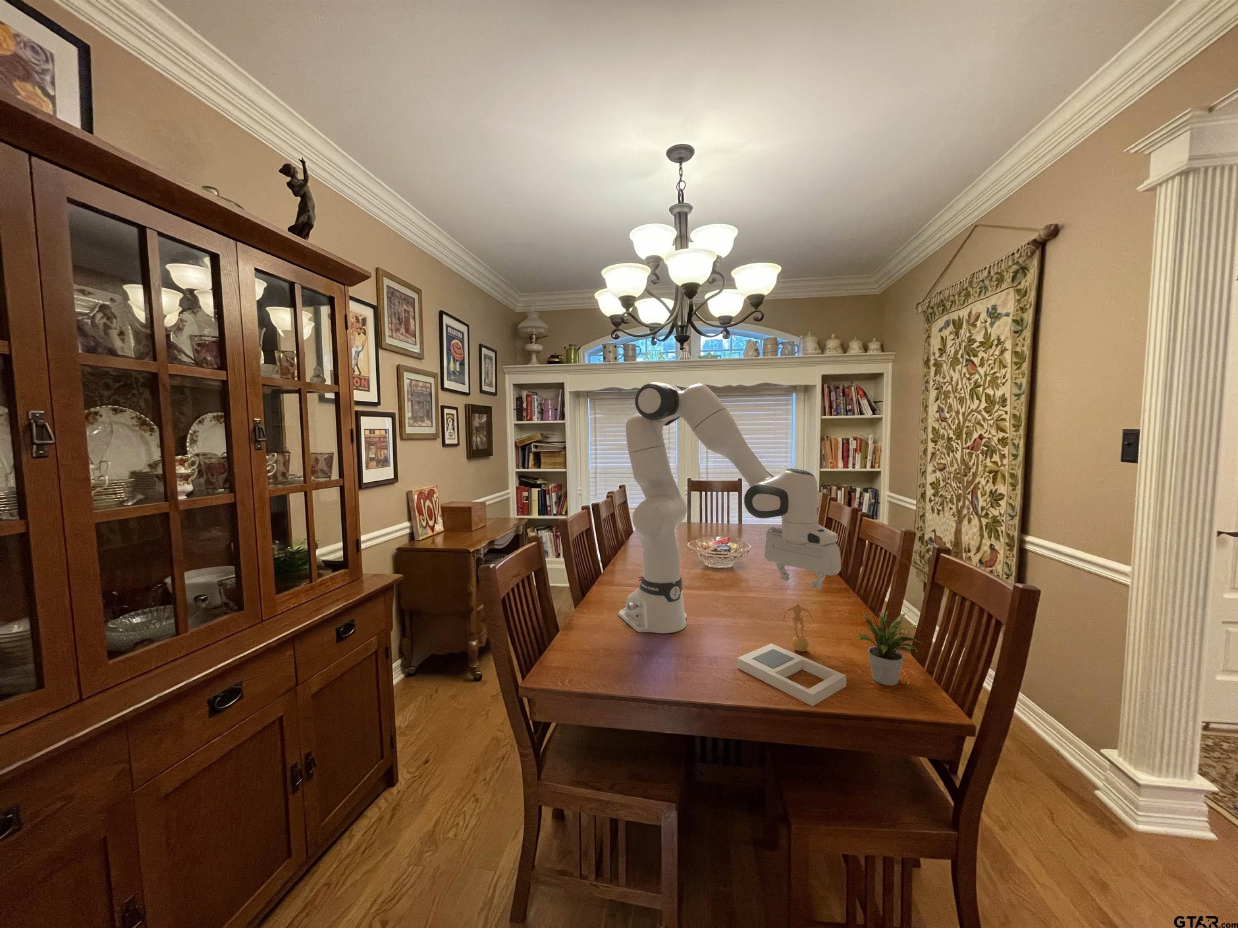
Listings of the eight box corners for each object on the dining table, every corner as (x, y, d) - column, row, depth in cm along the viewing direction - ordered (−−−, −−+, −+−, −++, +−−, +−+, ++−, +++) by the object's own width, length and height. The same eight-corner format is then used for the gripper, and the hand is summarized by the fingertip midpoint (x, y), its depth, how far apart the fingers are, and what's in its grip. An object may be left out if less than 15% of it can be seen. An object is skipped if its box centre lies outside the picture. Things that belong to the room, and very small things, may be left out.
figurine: (786, 654, 120) (787, 608, 119) (779, 643, 126) (779, 600, 125) (819, 654, 120) (819, 608, 119) (810, 643, 126) (810, 600, 125)
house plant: (854, 692, 102) (855, 619, 101) (839, 662, 115) (840, 597, 114) (927, 700, 99) (929, 625, 98) (903, 668, 112) (904, 601, 111)
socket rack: (737, 667, 114) (737, 656, 113) (771, 652, 121) (771, 642, 121) (812, 706, 97) (812, 693, 97) (846, 686, 105) (846, 674, 104)
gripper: (759, 527, 127) (760, 577, 128) (829, 539, 111) (830, 596, 111) (773, 524, 131) (774, 573, 132) (844, 535, 114) (844, 591, 115)
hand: (800, 584), depth 122 cm, fingers open, 8 cm apart
